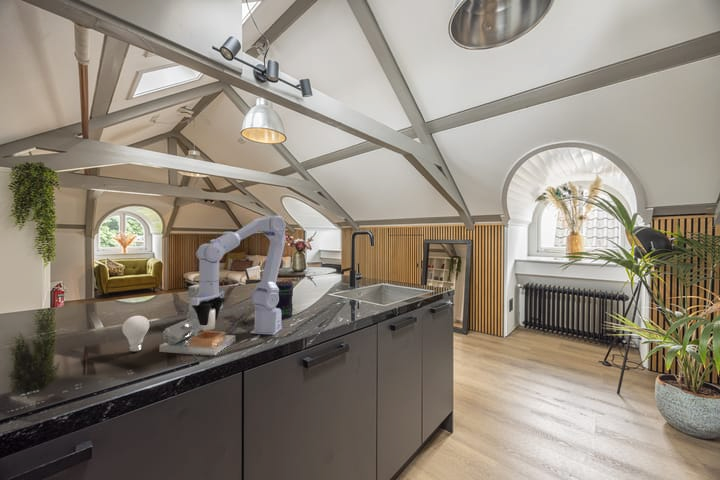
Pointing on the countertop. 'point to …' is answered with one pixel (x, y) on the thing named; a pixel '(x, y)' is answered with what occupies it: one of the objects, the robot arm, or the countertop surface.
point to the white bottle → (209, 321)
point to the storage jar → (285, 299)
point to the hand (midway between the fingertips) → (208, 322)
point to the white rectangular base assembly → (194, 339)
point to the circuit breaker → (192, 291)
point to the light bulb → (135, 331)
